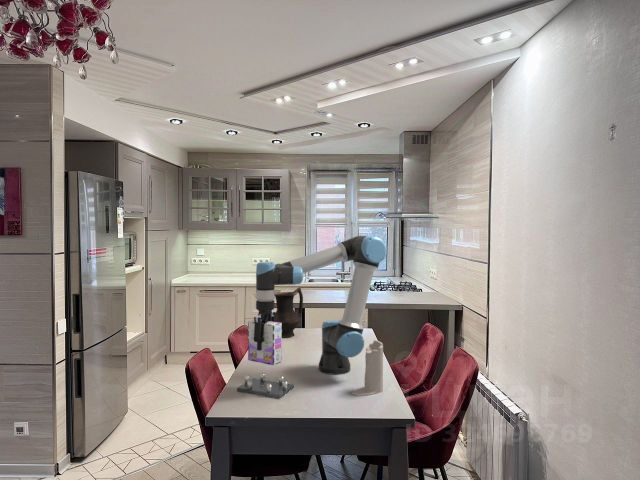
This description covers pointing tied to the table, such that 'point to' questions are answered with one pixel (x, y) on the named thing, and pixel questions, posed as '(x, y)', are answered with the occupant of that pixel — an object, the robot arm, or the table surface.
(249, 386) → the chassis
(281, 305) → the jug
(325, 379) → the table surface
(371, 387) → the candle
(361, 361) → the table surface
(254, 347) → the candy box
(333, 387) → the table surface
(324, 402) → the table surface
